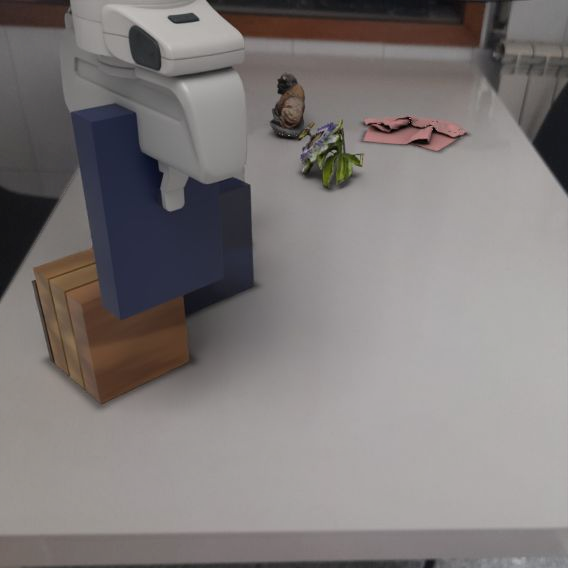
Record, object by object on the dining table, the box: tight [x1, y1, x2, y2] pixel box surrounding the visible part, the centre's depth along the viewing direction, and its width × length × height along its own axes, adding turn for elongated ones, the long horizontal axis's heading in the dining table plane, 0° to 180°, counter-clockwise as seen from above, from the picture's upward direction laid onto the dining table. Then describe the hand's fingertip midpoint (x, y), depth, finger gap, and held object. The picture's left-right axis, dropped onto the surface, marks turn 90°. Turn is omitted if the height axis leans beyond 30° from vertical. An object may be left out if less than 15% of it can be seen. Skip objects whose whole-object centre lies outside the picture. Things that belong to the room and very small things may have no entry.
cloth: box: [363, 115, 468, 152], centre depth 146 cm, size 20×22×2 cm
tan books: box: [31, 247, 190, 405], centre depth 76 cm, size 10×11×12 cm
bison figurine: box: [269, 71, 306, 138], centre depth 141 cm, size 12×7×10 cm, turn 5°
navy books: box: [183, 177, 255, 317], centre depth 89 cm, size 7×11×14 cm
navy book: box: [70, 103, 223, 320], centre depth 60 cm, size 3×11×17 cm, turn 136°
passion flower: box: [297, 118, 365, 190], centre depth 124 cm, size 11×11×12 cm
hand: (155, 198), depth 60 cm, fingers closed on navy book, 3 cm apart
